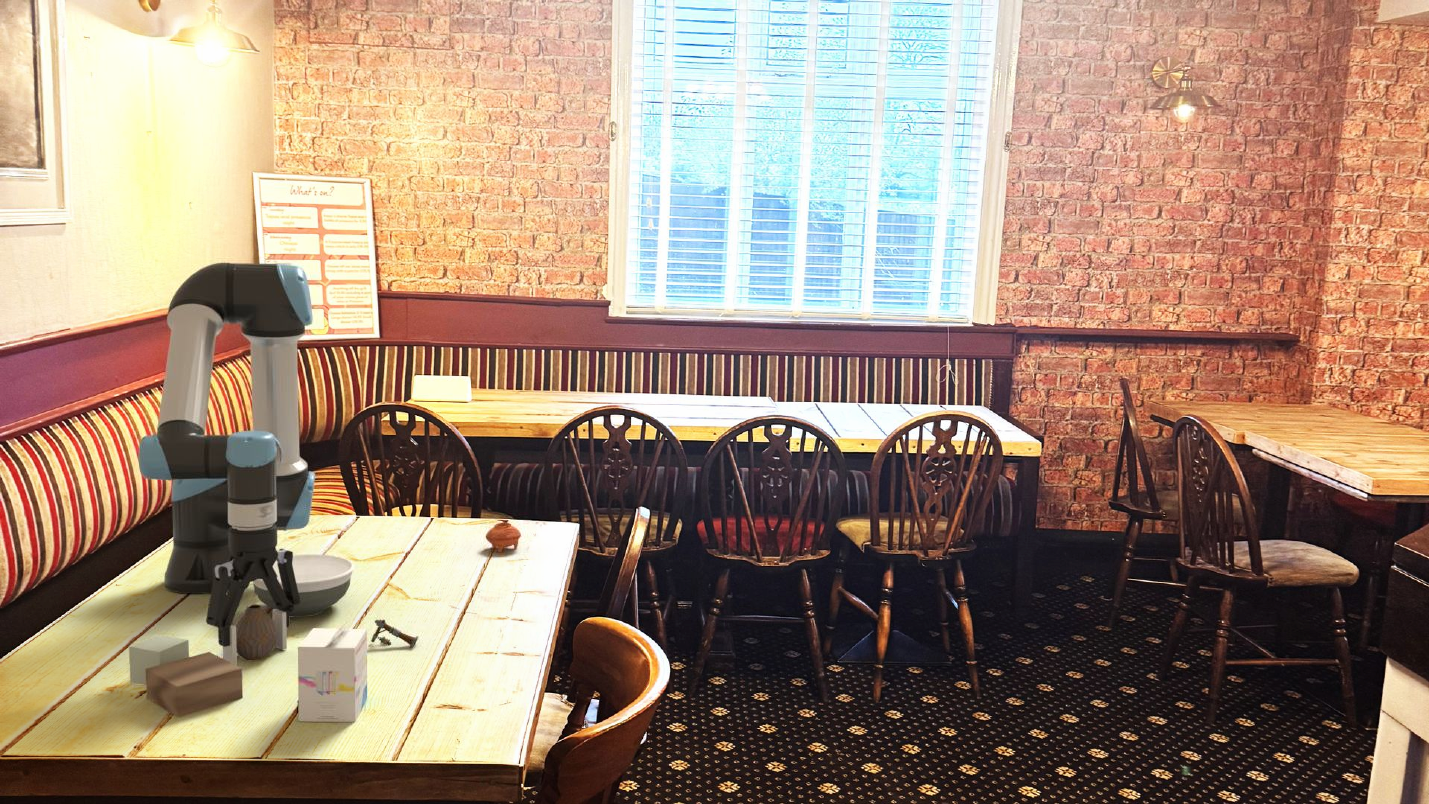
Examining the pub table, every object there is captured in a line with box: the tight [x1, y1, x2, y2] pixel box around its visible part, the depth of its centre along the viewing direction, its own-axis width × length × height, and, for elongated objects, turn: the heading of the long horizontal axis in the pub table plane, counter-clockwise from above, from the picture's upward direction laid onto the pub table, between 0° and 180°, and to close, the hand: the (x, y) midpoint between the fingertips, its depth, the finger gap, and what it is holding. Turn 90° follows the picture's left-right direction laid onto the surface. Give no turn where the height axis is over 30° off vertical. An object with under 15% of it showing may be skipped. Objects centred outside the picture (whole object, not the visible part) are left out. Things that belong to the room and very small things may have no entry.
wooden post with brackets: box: [370, 619, 419, 649], centre depth 200 cm, size 2×8×4 cm, turn 85°
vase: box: [234, 603, 277, 662], centre depth 192 cm, size 7×7×9 cm
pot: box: [485, 521, 522, 554], centre depth 262 cm, size 8×8×7 cm
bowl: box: [252, 554, 355, 618], centre depth 216 cm, size 19×19×8 cm
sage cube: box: [128, 634, 190, 686], centre depth 181 cm, size 6×6×6 cm
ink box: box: [297, 618, 368, 723], centre depth 171 cm, size 9×8×13 cm
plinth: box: [145, 651, 244, 718], centre depth 175 cm, size 10×10×5 cm
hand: (255, 655), depth 192 cm, fingers open, 9 cm apart
